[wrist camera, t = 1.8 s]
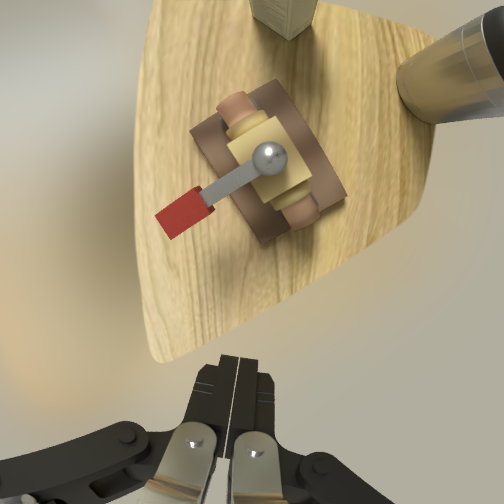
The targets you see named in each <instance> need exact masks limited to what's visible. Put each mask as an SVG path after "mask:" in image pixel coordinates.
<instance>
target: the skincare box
mask: <svg viewBox="0 0 504 504" xmlns="http://www.w3.org/2000/svg"><path fill="white" fill-rule="evenodd" d="M317 1H318V0H249V2H250V7H251V12H252V16H253V17H255V18H256V19H258V20H259V21H261V22H262V23H264V24H265V25H267V26H268V27H270V28H271V29H272V30H274V31H275V32H277V33H278V34H280V35H281V36H283V37H284V38H286V39H287V40H289V41H290V40H291V39H293V38H294V37H295V36H297V35H298V34H299V33H300V32H302V31H303V30H304V29H306V28H307V27H308V26H309V25H311V24H312V20H313V17H314V13H315V9H316V5H317Z"/></svg>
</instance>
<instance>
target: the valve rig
mask: <svg viewBox="0 0 504 504" xmlns="http://www.w3.org/2000/svg"><path fill="white" fill-rule="evenodd" d="M216 109H217V111H218V112H217V113H215V114H214V115H212V116H211V117H209V118H208V119H206V120H205V121H203V122H202V123H200V124H199V125H197V126H196V127H194V128H193V129H191V130H190V133H191V135H192V136H193V138H194V139H195V141H196V142H197V144H198V145H199V147H200V148H201V150H202V151H203V153H204V155H205V156H206V158H207V159H208V161H209V162H210V164H211V165H212V167H213V169H214V170H215V172H216V173H217V175H218V176H219V178H221V177H223V176H225V175H226V174H228V173H229V172H231V171H233V170H234V169H236V168H237V167H239V166H241V165H242V164H244V163H245V162H247V161H249V160H250V159H252V155H253V152H254V150H255V148H256V147H257V146H258V145H259V144H261V143H263V142H267V141H273V142H276V143H279V144H280V145H281V146H283V147H284V149H285V150H286V152H287V156H288V162H287V165H286V167H285V169H284V170H283V171H282V172H281V173H279V174H277V175H274V176H266V175H263V174H261V175H260V176H258V177H256V178H255V179H253V180H251V181H250V182H248V183H246V184H245V185H243V186H242V187H240V188H238V189H237V190H235V191H234V192H232V193H230V195H231V197H232V198H233V200H234V201H235V203H236V204H237V206H238V208H239V209H240V211H241V212H242V214H243V216H244V217H245V219H246V220H247V222H248V223H249V225H250V227H251V228H252V230H253V231H254V233H255V235H256V236H257V238H258V239H259V241H260V242H261V244H264V243H266V242H268V241H269V240H271V239H273V238H275V237H276V236H278V235H280V234H282V233H283V232H285V231H287V230H289V229H290V228H292V230H293V231H297V230H301V229H303V228H305V227H307V226H309V225H311V224H312V223H314V222H315V221H316V220H318V219H319V218H320V216H321V214H320V211H322V210H324V209H326V208H327V207H329V206H331V205H333V204H334V203H336V202H338V201H340V200H341V199H343V198H345V197H347V196H348V195H347V193H346V191H345V189H344V187H343V185H342V184H341V182H340V180H339V178H338V176H337V174H336V173H335V171H334V169H333V167H332V165H331V164H330V162H329V160H328V158H327V157H326V155H325V153H324V151H323V150H322V148H321V146H320V145H319V143H318V141H317V140H316V138H315V136H314V135H313V133H312V131H311V130H310V128H309V127H308V125H307V123H306V122H305V120H304V119H303V117H302V116H301V114H300V112H299V111H298V109H297V108H296V106H295V105H294V103H293V102H292V100H291V99H290V98H289V96H288V95H287V93H286V92H285V90H284V89H283V87H282V86H281V85H280V83H279V82H278V80H277V79H274V80H272V81H270V82H269V83H267V84H265V85H263V86H261V87H259V88H257V89H256V90H254V91H252V92H250V93H249V94H246V93H245V92H244V91H241V92H237V93H235V94H233V95H231V96H229V97H227V98H226V99H224V100H223V101H222V102H221V103H220V104H219V105H218V106H217V107H216Z"/></svg>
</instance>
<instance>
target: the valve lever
mask: <svg viewBox="0 0 504 504" xmlns="http://www.w3.org/2000/svg"><path fill="white" fill-rule="evenodd" d="M287 162H288V156H287V152H286V150H285V149H284V147H283V146H281V145H280V144H279V143H276V142H273V141H267V142H263V143H261V144H259V145H258V146H257V147H256V148H255V150H254V152H253V155H252V159H250V160H249V161H247V162H245V163H244V164H242V165H241V166H239V167H237V168H236V169H234V170H233V171H231V172H229V173H228V174H226V175H225V176H223V177H221V178H220V179H218V180H217V181H215V182H214V183H212V184H211V185H209V186H208V187H206V188H205V189H203V190H202V188H201V187H200V186H197V187H195V188H193V189H191V190H190V191H188V192H187V193H185V194H184V195H182V196H181V197H180V198H178V199H177V200H175V201H174V202H173V203H171V204H170V205H168V206H167V207H166V208H164V209H163V210H161V211H160V212H159V213H157V214H156V215H155V217H156V219H157V220H158V222H159V223H160V225H161V226H162V228H163V229H164V231H165V232H166V234H167V235H168V237H169V238H170V240H172V239H173V238H175V237H176V236H178V235H179V234H181V233H182V232H184V231H185V230H187V229H188V228H190V227H191V226H193V225H194V224H196V223H197V222H199V221H200V220H202V219H203V218H205V217H207V216H208V215H210V214H211V213H212V212H213V211H214V210H215V208H214V207H213V204H215V203H216V202H218V201H219V200H221V199H222V198H224V197H226V196H227V195H229V194H230V193H232V192H234V191H235V190H237V189H238V188H240V187H242V186H243V185H245V184H246V183H248V182H250V181H251V180H253V179H255V178H256V177H258V176H260V175H261V174H263V175H266V176H274V175H277V174H279V173H281V172H282V171H283V170H284V169H285V167H286V165H287Z"/></svg>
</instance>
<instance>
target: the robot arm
mask: <svg viewBox="0 0 504 504" xmlns="http://www.w3.org/2000/svg"><path fill="white" fill-rule="evenodd" d="M397 87H398V90H399V94H400V96H401V98H402V100H403V102H404V103H405V105H406V106H407V108H408V109H409V110H410V111H411V112H412V113H413V114H414V115H415V116H416V117H417V118H419V119H420V120H422V121H424V122H427V123H430V124H440V123H447V122H455V121H463V120H472V119H482V118H493V117H504V6H500V7H497V8H494V9H492V10H491V11H489V12H487V13H485V14H483V15H481V16H479V17H477V18H475V19H474V20H472V21H470V22H468V23H467V24H465V25H463V26H461V27H459V28H458V29H456V30H454V31H453V32H451V33H449V34H448V35H446V36H444V37H443V38H441V39H440V40H437V41H436V42H434V43H433V44H431V45H429V46H428V47H426V48H425V49H423V50H421V51H420V52H418V53H416V54H415V55H413V56H412V57H410V58H409V59H407V60H406V61H405V62H403V63H402V64H401V66H400V67H399V69H398V72H397ZM238 359H239V357H235V356H228V355H221V357H220V361H219V365H218V366H214V365H209V364H206V365H205V366H204V367H203V368H202V369H201V370H200V371H199V372H198V375H197V378H196V381H195V384H194V387H193V391H192V394H191V397H190V400H189V403H188V407H187V410H186V413H185V416H184V419H183V421H182V423H181V424H180V425H179V426H178V427H176V428H175V429H173V430H170V431H166V432H146V431H145V429H144V428H143V427H142V426H140V425H138V424H137V423H134V422H130V421H121V422H118V423H115V424H113V425H110V426H108V427H106V428H103V429H100V430H98V431H95V432H93V433H90V434H87V435H85V436H82V437H79V438H76V439H74V440H71V441H68V442H65V443H62V444H59V445H56V446H53V447H49V448H47V449H43V450H39V451H36V452H32V453H29V454H25V455H21V456H18V457H14V458H10V459H5V460H1V461H0V504H106V503H108V502H111V501H113V500H115V499H118V498H120V497H122V496H124V495H126V494H129V493H131V492H133V491H135V490H137V489H139V488H142V487H144V488H143V490H142V492H141V494H140V497H139V499H138V501H137V503H136V504H204V503H205V499H206V496H207V493H208V489H209V485H210V482H211V479H212V475H213V473H214V471H215V468H216V461H217V457H220V458H223V453H224V447H225V441H226V435H227V429H228V422H229V417H230V410H231V404H232V398H233V391H234V385H235V378H236V372H237V366H238ZM257 371H258V360H255V359H248V358H240V363H239V369H238V375H237V381H236V387H235V393H234V400H233V407H232V413H231V420H230V426H229V433H228V440H227V446H226V453H225V458H227V459H230V464H229V471H228V475H227V495H226V496H227V497H226V504H394V503H393V502H392V501H390V500H389V499H387V498H386V497H385V496H383V495H382V494H381V493H379V492H378V491H377V490H375V489H374V488H373V487H371V486H370V485H369V484H367V483H366V482H365V481H364V480H362V479H361V478H360V477H358V476H357V475H356V474H354V472H352V471H351V470H350V469H349V468H347V467H346V466H345V465H344V464H343V463H341V462H340V461H339V460H338V459H337V458H335V457H334V456H333V455H330V454H328V453H325V452H314V453H311V454H309V455H307V456H304V455H300V454H296V453H294V452H291V451H288V450H286V449H285V448H283V447H282V446H281V445H280V444H279V443H278V442H277V440H276V438H275V434H274V421H275V420H274V419H275V418H274V417H275V415H274V414H275V412H274V411H275V410H274V409H275V405H274V401H275V399H274V382H273V380H272V378H271V376H270V374H268V373H260V372H257Z"/></svg>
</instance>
